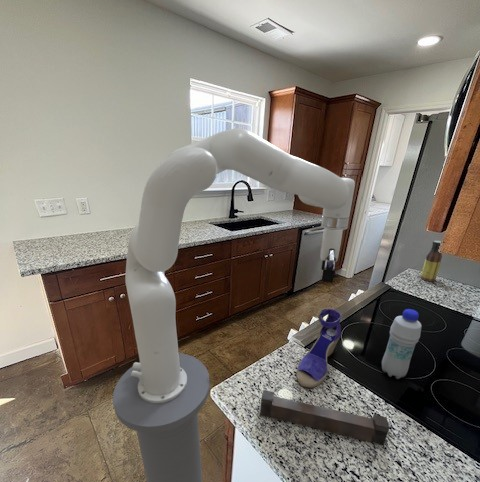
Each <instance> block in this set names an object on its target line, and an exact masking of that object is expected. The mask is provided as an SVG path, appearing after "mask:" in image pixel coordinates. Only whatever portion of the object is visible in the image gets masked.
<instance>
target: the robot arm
mask: <svg viewBox="0 0 480 482" xmlns="http://www.w3.org/2000/svg"><path fill="white" fill-rule="evenodd" d="M226 170H229V171H235V172H237V173H239V174H241V175H243V176H245V177H247V178H250V179H252V180H253V181H256V182H259V183H261V184H263V185H264V186H266V187H268V188H271V189H274V190H277V191H278V192H283V193H287V194H292V195H296V196H297V197H298V199H299V200H300V201H301V202H302V203H303V204H305V205H308V206H312V207H317V208H321V209H322V216H321V222H320V223H321V224H320V227H321V228H323V233H322V238H321V246H320V252H319V256H320V257H319V258H320V261H321V267H320V268H321V270H322V276H321V282H323V283H334V277H335V271H336V270H335V266H336V263H337V262H338V260H339V255H340V250H341V245H342V240H343V232H344V231H345V230H347V229H348V228H349V222H350V216H351V210H352V204H353V199H354V193H355V188H356V181H355V180H354V179H353V178H350V177H341V176H339V175H337V174H336V173H334V172H332V171H331V170H328V169H327V168H325V167H322V166H320V165H318V164H315V163H312V162H309V161H307V160H305V159H303V158H300V157H298V156H294V155H292V154H289V152H286V151H285V150H283V149H281V148H279V147H277V146H276V145H274V144H273V143H270V142H269V141H268V140H266V139H264V138H262V137H261V136H259V135H258V134H256V133H254V132H252V131H250V130H248V129H245V128H242V127H241V128H240V127H238V128H230V129H227V130H223V131H219V132H217V133H213V135H210V136H208V137H205V138H203V139H200V140H197V141H195V142H192V143H190V144H187V145H185V146H182V147H180V148H177V149H174V151H173V150H172V152H171V153H170V154H169V155H168V156H167V157H166V158H165V160H163V161H162V162H160V164H159V165H157V166H156V167H155V169H154V170H153V171H152V172H151V174H150V175H149V177H148V179H147V181H146V183H145V186H144V189H143V193H142V197H141V202H140V203H141V204H140V212H139V217H138V223H137V224H136V225H134V226H133V228H132V229H131V232H130V233H129V236H128V244H127V253H126V254H127V255H126V263H125V275H124V276H125V277H124V278H125V279H124V280H125V288H126V292H127V298H128V302H129V308H130V313H131V318H132V324H133V325H132V326H133V330H134V336H135V343H136V348H137V353H138V359H139V362H140V363H139V362H137V361H135V362H133V364H132V366H133V367H132V366H131V367H132V368H133V369H134V370H139V371H141V372H138V371H132V373H131V376H135V377H138V378H139V383H138V392H139V395H140V397H141V398H142V399H143V400H145V401H147V402H150V403H164V402H168V401H170V400H172V399H174V398H176V397H177V396H179V395H180V394H181V393H182V392H183V390H184V389H185V387H186V385H187V375H186V373H185V371H184V370H183V369H182V368H181V367H180V362H179V353H180V352H179V343H178V333H177V332H178V331H177V320H176V312H177V311H176V310H177V309H176V308H177V300H176V294H175V292H174V289H173V287H172V285H171V283H170V281H169V279H168V278H167V276H166V275H165V273H166V271H168V270H169V269H171V268H172V266H173V265H174V264H175V262H176V261H177V258H178V253H179V244H180V236H181V229H182V222H183V218H184V214H185V210H186V207H187V205H188V203H189V202H190V201H191V199H192V198H193V197H194V196H195V195H196V194H198V193H200V192H204V191H205V190H208V189H209V188H210V187H211V186H212V185H213V183H214V182H215V180H216V178H217V175H218V174H220V173H223V172H225V171H226Z"/></svg>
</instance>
